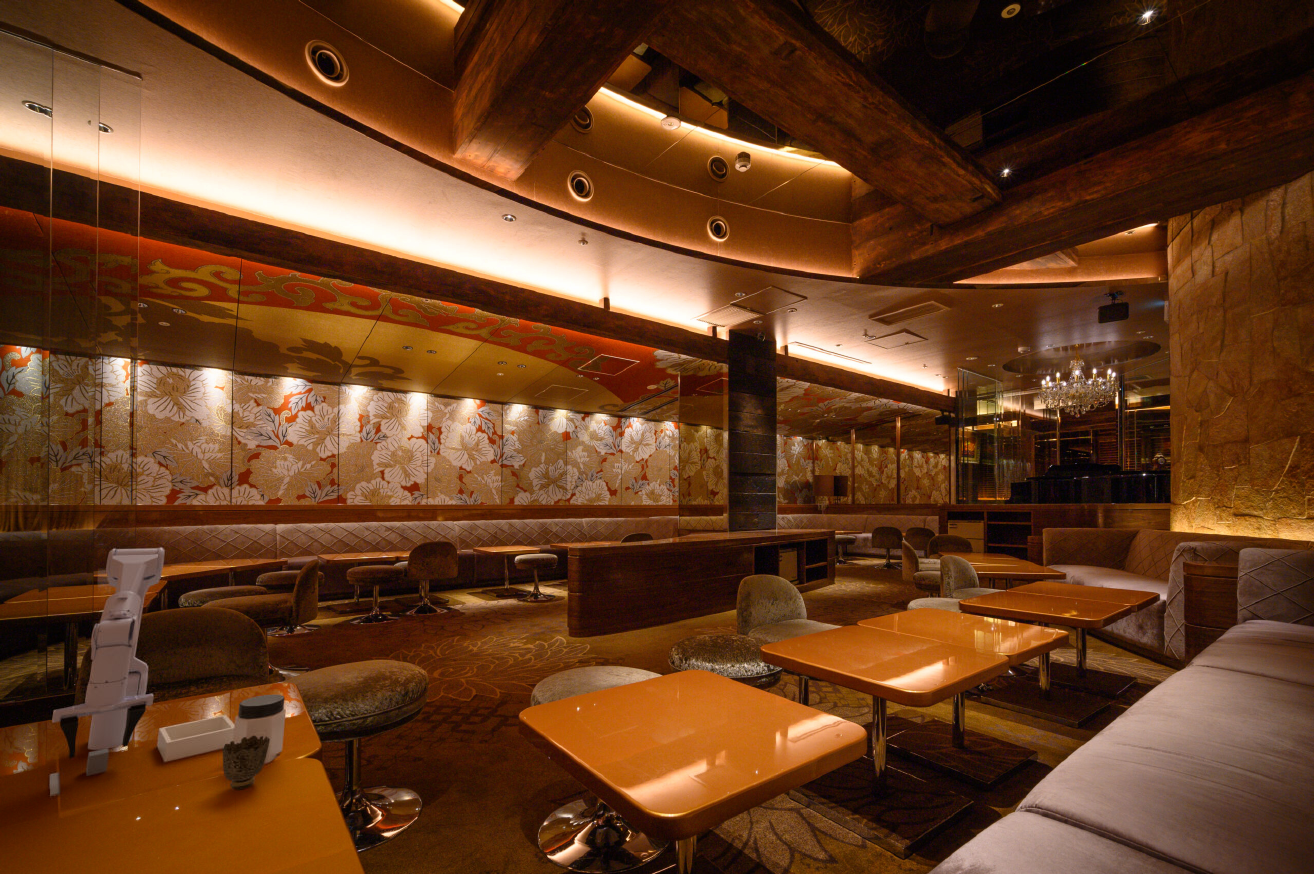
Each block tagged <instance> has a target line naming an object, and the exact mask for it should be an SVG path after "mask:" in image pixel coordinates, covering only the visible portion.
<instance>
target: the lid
mask: <svg viewBox="0 0 1314 874" xmlns="http://www.w3.org/2000/svg"><path fill="white" fill-rule="evenodd" d="M109 751H110V750H109V748H107V749H100V750H92V751H89V752H88V755H87V762H86V768H85V769H86V770H85V774H86V777H88V776H93V775H97V774H101V773H106V772H107V770H108V769H107V768H108V763H109V754H110V752H109ZM60 775H61V774H60V771H59V772H55V773H49V789H50V796H54V795H58V796H60V795H61V776H60ZM59 794H60V795H59ZM54 797H55V796H54Z"/></svg>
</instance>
